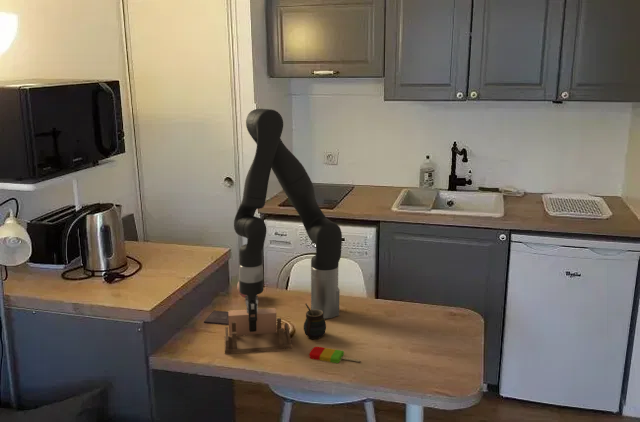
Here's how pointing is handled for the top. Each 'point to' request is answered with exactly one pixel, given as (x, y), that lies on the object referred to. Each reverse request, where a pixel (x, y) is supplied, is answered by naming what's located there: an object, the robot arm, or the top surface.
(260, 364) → the top surface
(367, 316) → the top surface
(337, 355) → the popsicle
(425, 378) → the top surface
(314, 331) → the mate gourd
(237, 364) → the top surface
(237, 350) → the rack
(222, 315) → the chocolate bar
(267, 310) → the tan rectangular block
